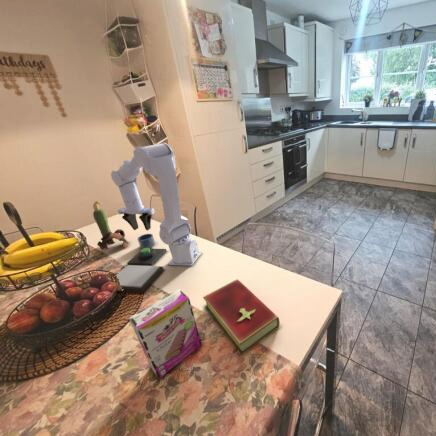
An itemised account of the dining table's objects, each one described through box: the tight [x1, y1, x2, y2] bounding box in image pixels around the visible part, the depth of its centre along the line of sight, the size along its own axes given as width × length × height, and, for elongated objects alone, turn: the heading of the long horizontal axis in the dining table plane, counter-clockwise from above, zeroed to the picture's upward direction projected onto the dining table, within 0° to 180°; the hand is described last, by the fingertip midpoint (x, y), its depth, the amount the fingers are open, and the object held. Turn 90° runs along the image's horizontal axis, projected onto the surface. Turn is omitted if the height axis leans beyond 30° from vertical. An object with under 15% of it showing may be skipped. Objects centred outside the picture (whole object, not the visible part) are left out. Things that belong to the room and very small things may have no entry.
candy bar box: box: [128, 288, 202, 380], centre depth 56 cm, size 11×5×16 cm, turn 141°
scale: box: [115, 264, 165, 294], centre depth 86 cm, size 14×12×2 cm
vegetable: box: [92, 200, 112, 237], centre depth 106 cm, size 4×4×20 cm
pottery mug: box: [97, 228, 129, 251], centre depth 106 cm, size 12×10×8 cm
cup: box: [137, 233, 156, 250], centre depth 106 cm, size 6×6×4 cm
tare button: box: [140, 248, 150, 255], centre depth 97 cm, size 3×3×2 cm
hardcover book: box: [202, 278, 280, 355], centre depth 69 cm, size 12×21×4 cm, turn 42°
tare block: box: [126, 247, 168, 266], centre depth 97 cm, size 10×10×3 cm
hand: (142, 229), depth 103 cm, fingers open, 5 cm apart
